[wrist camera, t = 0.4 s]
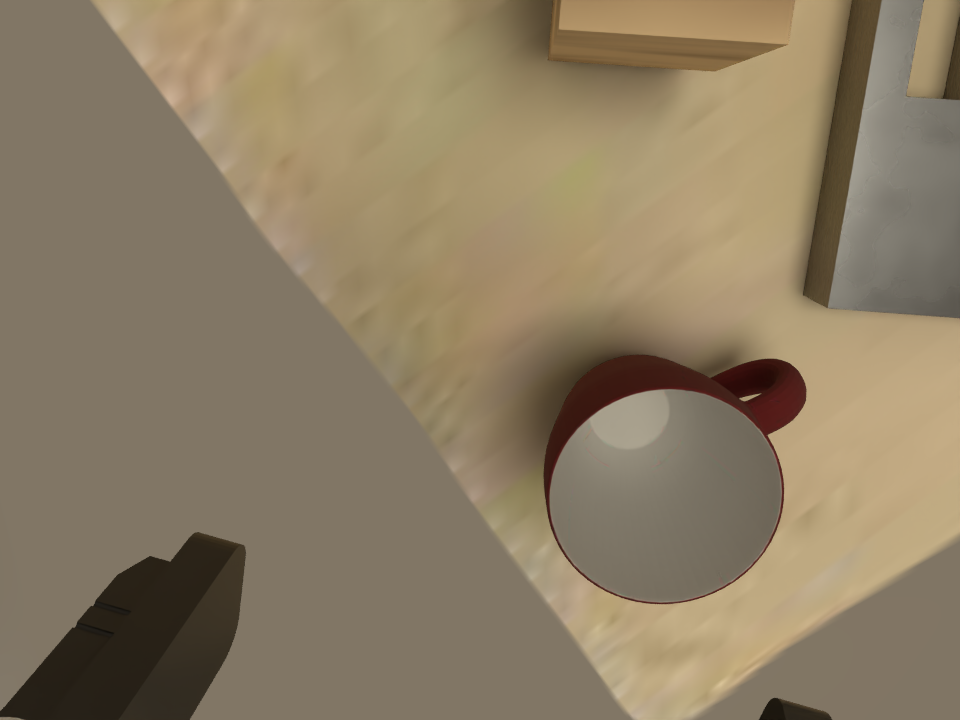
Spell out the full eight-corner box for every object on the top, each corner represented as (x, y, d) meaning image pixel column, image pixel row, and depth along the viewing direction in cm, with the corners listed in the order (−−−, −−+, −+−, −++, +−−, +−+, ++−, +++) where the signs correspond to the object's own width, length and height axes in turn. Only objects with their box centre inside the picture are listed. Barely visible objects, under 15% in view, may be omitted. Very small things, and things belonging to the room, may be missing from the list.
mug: (704, 253, 36) (771, 294, 27) (799, 401, 38) (896, 490, 28) (504, 387, 38) (499, 470, 28) (602, 522, 40) (629, 645, 30)
